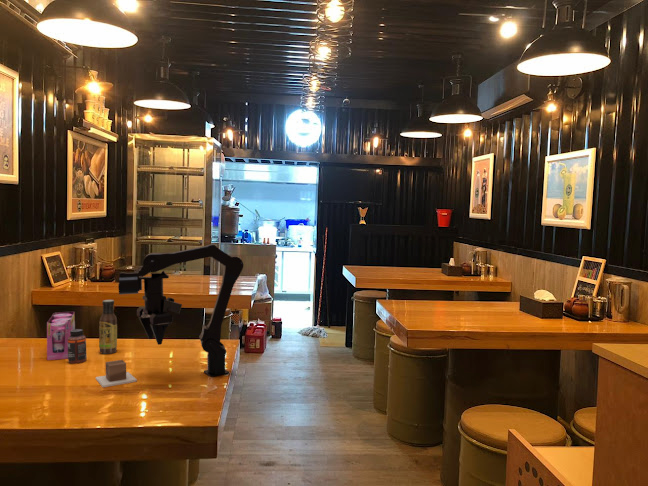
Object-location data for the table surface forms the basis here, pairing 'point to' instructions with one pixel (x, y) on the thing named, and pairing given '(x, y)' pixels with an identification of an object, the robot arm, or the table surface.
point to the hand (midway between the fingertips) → (155, 341)
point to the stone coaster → (106, 383)
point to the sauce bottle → (108, 329)
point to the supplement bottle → (76, 346)
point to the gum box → (59, 334)
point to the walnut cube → (115, 370)
